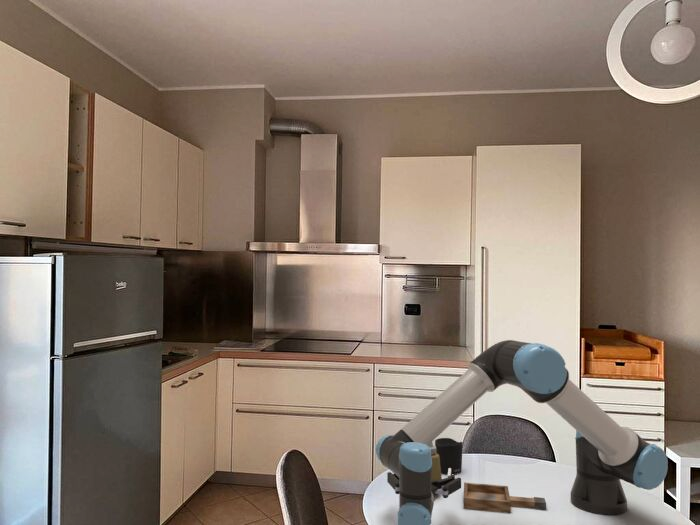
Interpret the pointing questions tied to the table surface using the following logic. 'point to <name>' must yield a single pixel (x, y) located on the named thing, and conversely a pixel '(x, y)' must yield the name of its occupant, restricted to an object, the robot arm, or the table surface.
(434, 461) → the squeeze bottle
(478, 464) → the table surface
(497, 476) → the table surface
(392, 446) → the robot arm
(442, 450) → the pen holder
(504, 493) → the wooden tray with handle
